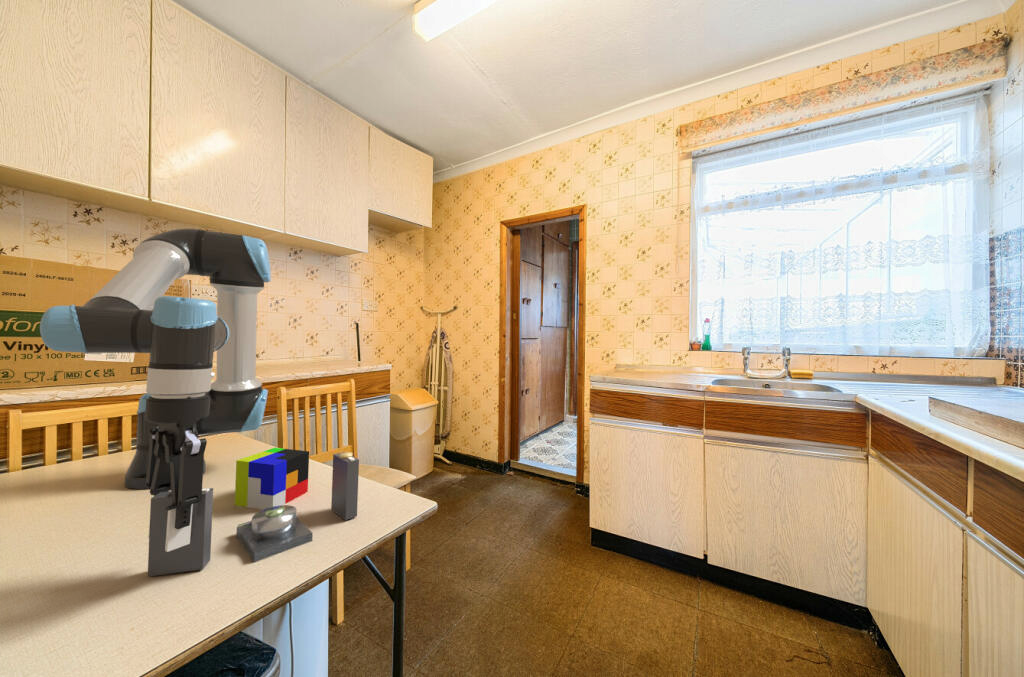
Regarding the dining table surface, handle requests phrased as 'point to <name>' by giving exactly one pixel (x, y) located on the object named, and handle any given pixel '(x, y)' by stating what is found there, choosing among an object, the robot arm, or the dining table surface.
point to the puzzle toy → (271, 478)
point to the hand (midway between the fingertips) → (169, 540)
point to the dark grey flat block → (185, 556)
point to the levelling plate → (275, 543)
